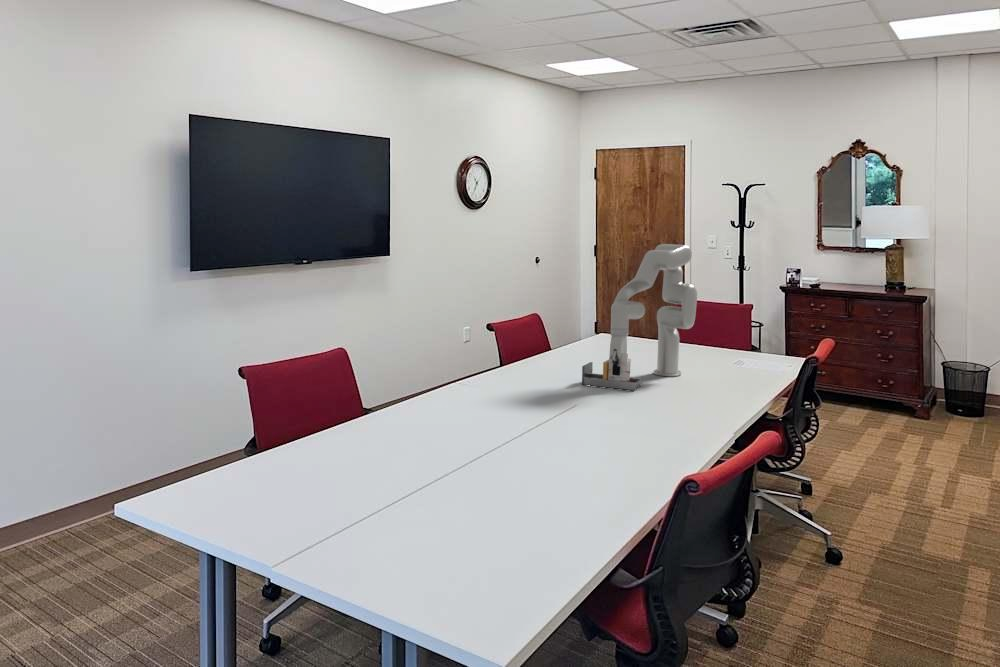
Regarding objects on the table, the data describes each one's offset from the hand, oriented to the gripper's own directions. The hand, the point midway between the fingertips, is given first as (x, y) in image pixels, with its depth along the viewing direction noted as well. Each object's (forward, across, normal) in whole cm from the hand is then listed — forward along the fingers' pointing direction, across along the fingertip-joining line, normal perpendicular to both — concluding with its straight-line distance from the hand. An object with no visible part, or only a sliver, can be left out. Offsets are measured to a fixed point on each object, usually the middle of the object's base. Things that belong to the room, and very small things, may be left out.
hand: (618, 373), depth 320 cm
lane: (+6, 0, -3) cm, 7 cm away
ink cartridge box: (+5, 0, 0) cm, 5 cm away
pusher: (+5, 0, -5) cm, 7 cm away
